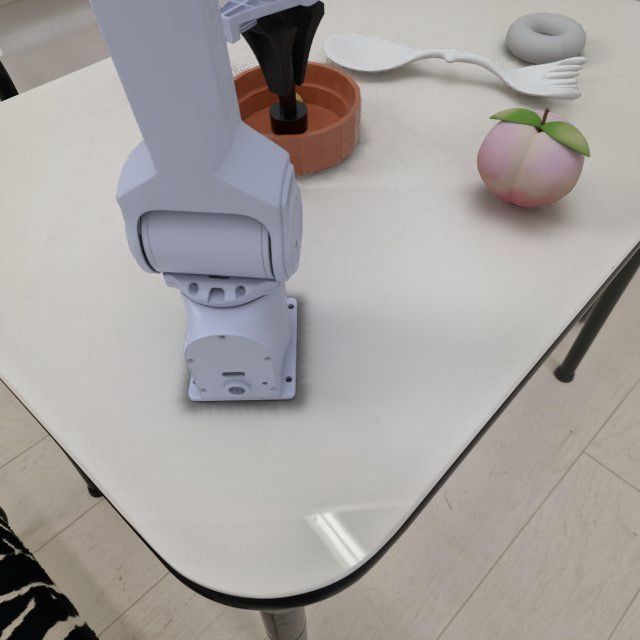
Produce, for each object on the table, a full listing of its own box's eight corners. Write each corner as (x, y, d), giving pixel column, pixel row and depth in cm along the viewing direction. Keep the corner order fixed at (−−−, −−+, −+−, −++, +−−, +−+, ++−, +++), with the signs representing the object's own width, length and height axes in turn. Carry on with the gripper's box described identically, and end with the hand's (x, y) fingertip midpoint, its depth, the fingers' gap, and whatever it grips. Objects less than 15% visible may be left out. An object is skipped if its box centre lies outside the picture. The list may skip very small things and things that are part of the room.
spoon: (571, 120, 59) (583, 91, 56) (313, 74, 67) (312, 47, 64) (578, 81, 64) (589, 53, 61) (337, 43, 72) (337, 16, 69)
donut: (545, 29, 73) (487, 43, 70) (554, 2, 70) (494, 16, 68) (596, 60, 67) (535, 77, 65) (608, 32, 64) (544, 49, 62)
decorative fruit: (575, 193, 51) (619, 99, 43) (548, 243, 47) (591, 149, 39) (486, 163, 55) (512, 71, 47) (454, 207, 51) (476, 114, 43)
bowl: (363, 178, 54) (365, 135, 50) (218, 182, 54) (209, 140, 50) (355, 99, 63) (356, 58, 59) (231, 103, 63) (224, 62, 59)
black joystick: (315, 124, 55) (312, 36, 48) (293, 142, 53) (286, 54, 46) (286, 112, 56) (279, 25, 49) (263, 129, 54) (252, 42, 47)
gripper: (250, -39, 35) (271, 136, 46) (366, -97, 42) (360, 67, 53) (178, -58, 38) (213, 111, 49) (298, -110, 45) (305, 49, 56)
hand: (286, 87), depth 51 cm, fingers closed on black joystick, 2 cm apart
